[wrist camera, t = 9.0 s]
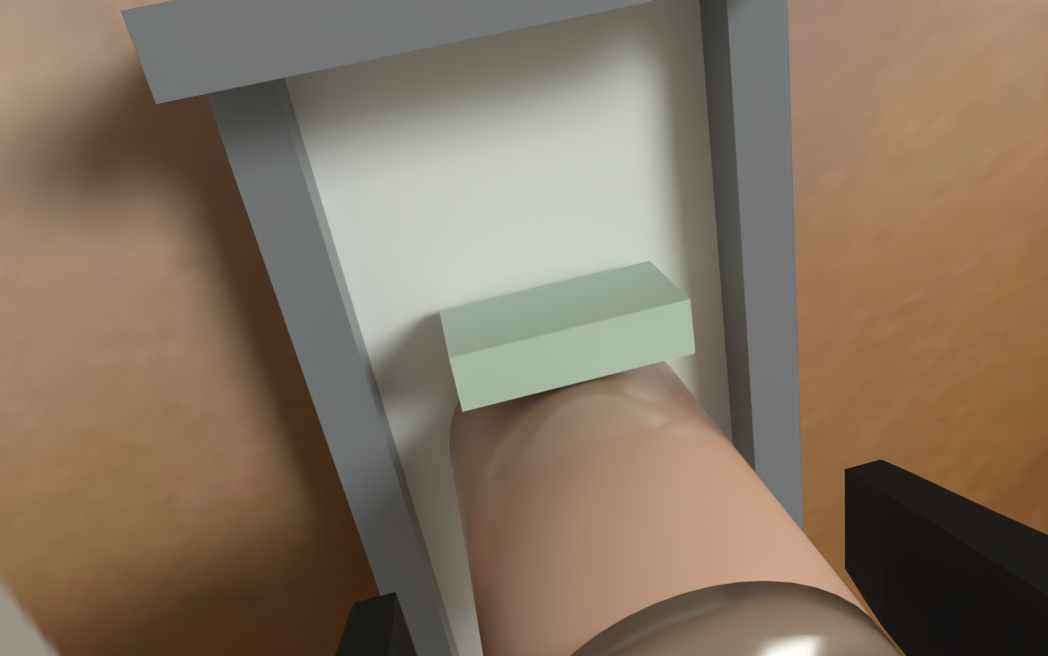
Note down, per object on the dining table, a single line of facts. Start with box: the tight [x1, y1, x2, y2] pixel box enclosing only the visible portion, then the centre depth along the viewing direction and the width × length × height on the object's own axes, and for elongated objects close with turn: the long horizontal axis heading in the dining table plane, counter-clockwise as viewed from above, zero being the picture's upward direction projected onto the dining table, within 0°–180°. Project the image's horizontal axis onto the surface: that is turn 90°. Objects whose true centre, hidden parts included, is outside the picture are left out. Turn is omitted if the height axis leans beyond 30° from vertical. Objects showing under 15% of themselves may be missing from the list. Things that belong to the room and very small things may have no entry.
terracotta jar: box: [449, 361, 902, 656], centre depth 12 cm, size 5×5×8 cm
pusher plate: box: [439, 261, 695, 412], centre depth 13 cm, size 4×1×2 cm, turn 100°
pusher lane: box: [121, 0, 803, 656], centre depth 15 cm, size 9×20×4 cm, turn 10°
